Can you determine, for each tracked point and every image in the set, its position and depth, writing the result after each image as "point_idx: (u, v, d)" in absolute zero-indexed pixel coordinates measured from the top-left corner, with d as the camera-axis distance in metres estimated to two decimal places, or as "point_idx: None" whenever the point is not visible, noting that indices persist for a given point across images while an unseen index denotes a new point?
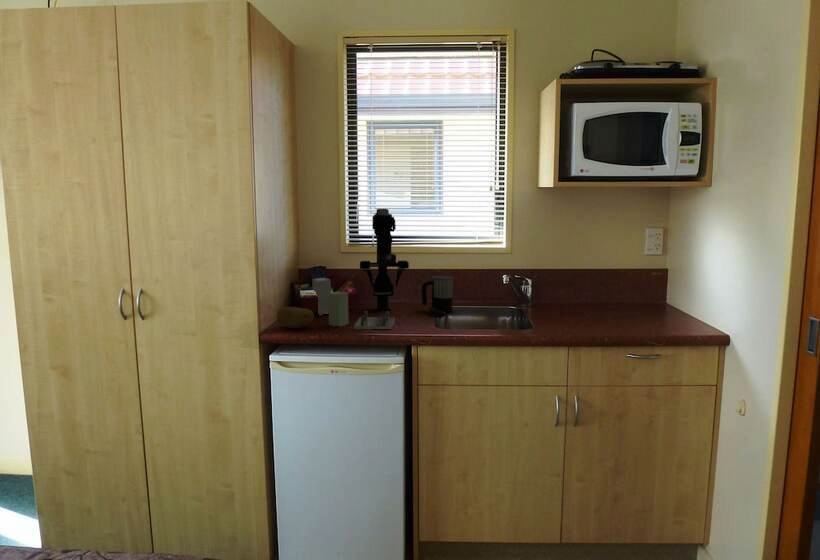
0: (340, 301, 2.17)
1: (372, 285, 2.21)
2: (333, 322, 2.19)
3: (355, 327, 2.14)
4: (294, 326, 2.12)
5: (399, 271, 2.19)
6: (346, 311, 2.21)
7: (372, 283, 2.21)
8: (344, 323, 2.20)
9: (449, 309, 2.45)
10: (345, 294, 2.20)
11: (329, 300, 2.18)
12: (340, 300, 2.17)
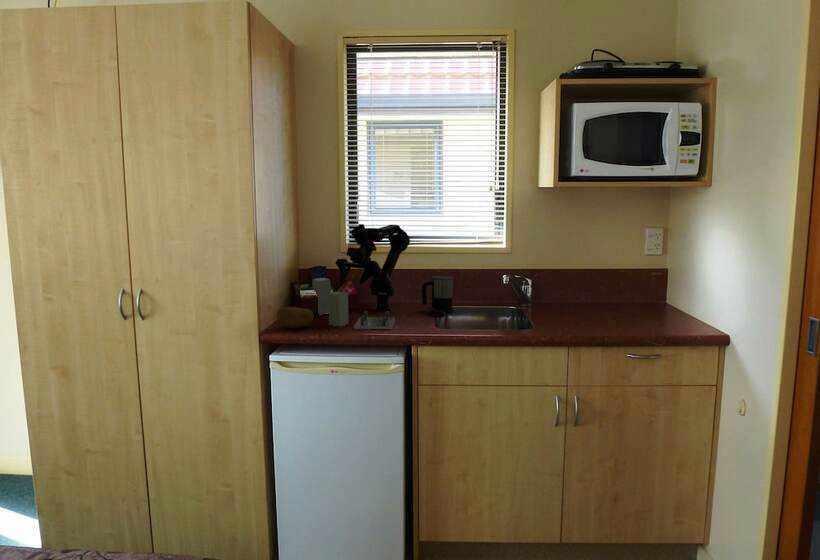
0: (340, 301, 2.17)
1: (340, 279, 2.28)
2: (333, 322, 2.19)
3: (355, 327, 2.14)
4: (294, 326, 2.12)
5: (366, 267, 2.25)
6: (346, 311, 2.21)
7: (341, 277, 2.29)
8: (344, 323, 2.20)
9: (449, 309, 2.45)
10: (345, 294, 2.20)
11: (329, 300, 2.18)
12: (340, 300, 2.17)
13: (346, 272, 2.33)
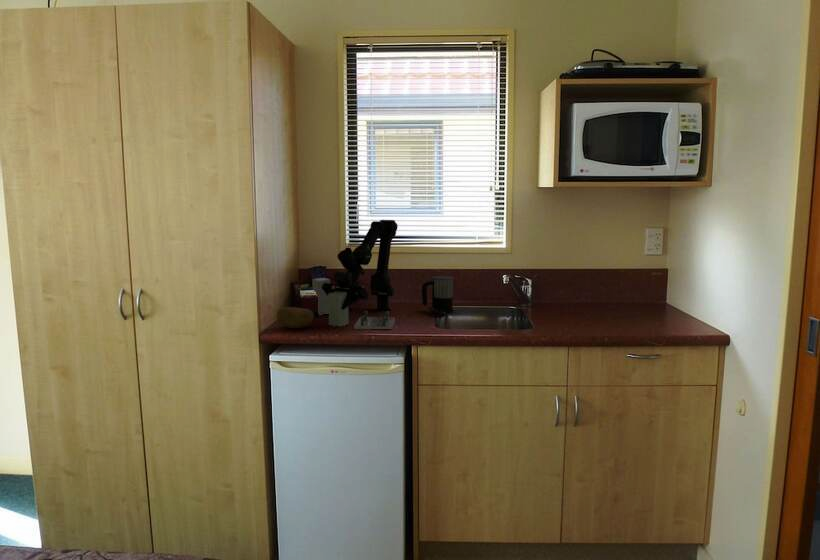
0: (340, 301, 2.17)
1: None
2: (333, 322, 2.19)
3: (355, 327, 2.14)
4: (294, 326, 2.12)
5: (348, 292, 2.19)
6: (346, 311, 2.21)
7: None
8: (344, 323, 2.20)
9: (449, 309, 2.45)
10: (345, 294, 2.20)
11: (329, 300, 2.18)
12: (340, 300, 2.17)
13: None
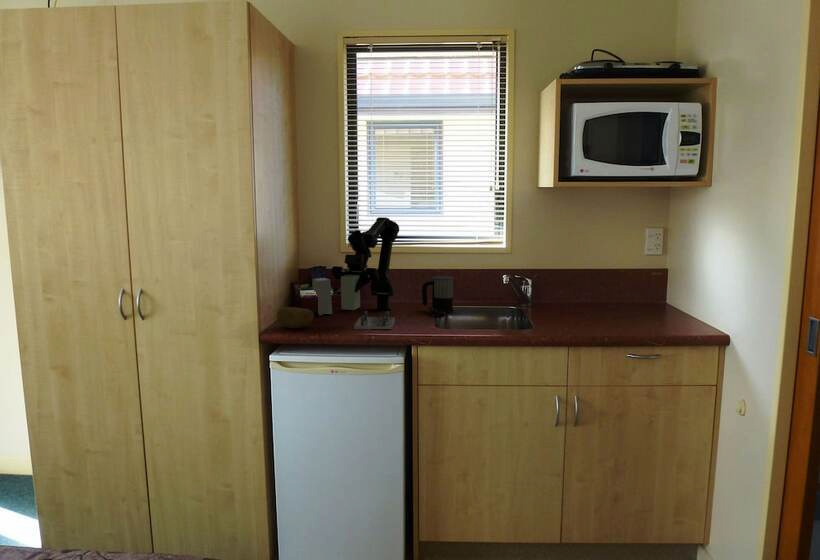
0: (353, 284, 2.15)
1: None
2: (346, 305, 2.17)
3: (355, 327, 2.14)
4: (294, 326, 2.12)
5: (361, 275, 2.18)
6: (358, 294, 2.20)
7: None
8: (357, 306, 2.19)
9: (449, 309, 2.45)
10: (357, 277, 2.18)
11: (342, 283, 2.16)
12: (354, 283, 2.16)
13: None
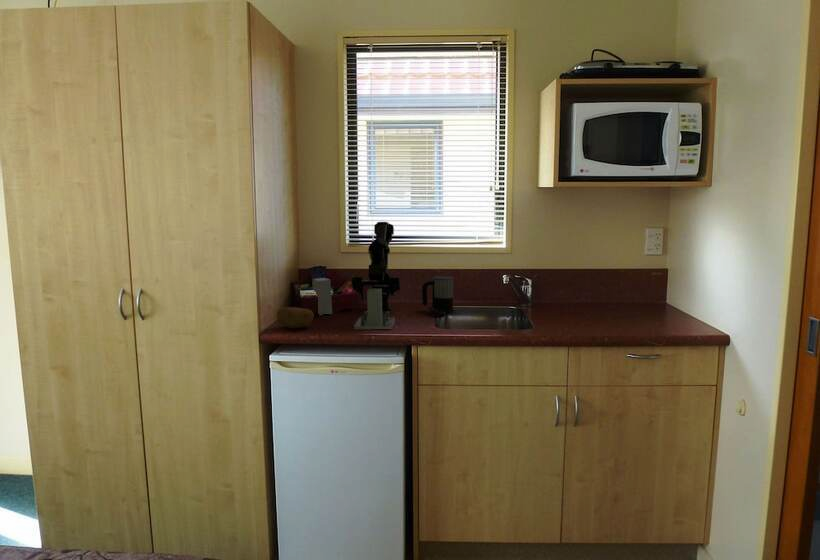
0: (380, 297, 2.17)
1: (362, 298, 2.19)
2: (373, 319, 2.18)
3: (355, 327, 2.14)
4: (294, 326, 2.12)
5: (390, 284, 2.20)
6: (381, 308, 2.22)
7: (362, 296, 2.19)
8: (381, 319, 2.21)
9: (449, 309, 2.45)
10: (381, 290, 2.21)
11: (368, 297, 2.17)
12: (380, 296, 2.18)
13: (363, 290, 2.24)
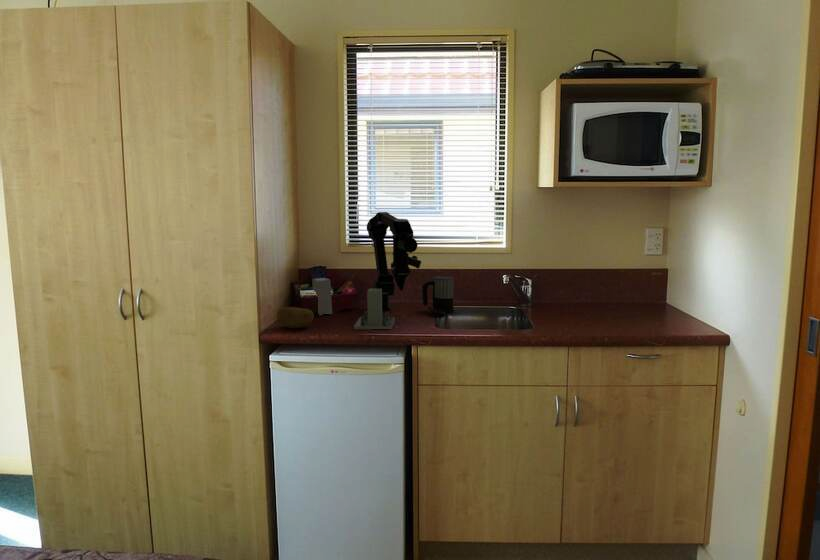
0: (380, 297, 2.17)
1: (402, 288, 2.28)
2: (373, 319, 2.18)
3: (355, 327, 2.14)
4: (294, 326, 2.12)
5: None
6: (381, 308, 2.22)
7: (403, 286, 2.28)
8: (381, 319, 2.21)
9: (450, 309, 2.44)
10: (381, 290, 2.21)
11: (368, 297, 2.17)
12: (380, 296, 2.18)
13: None
